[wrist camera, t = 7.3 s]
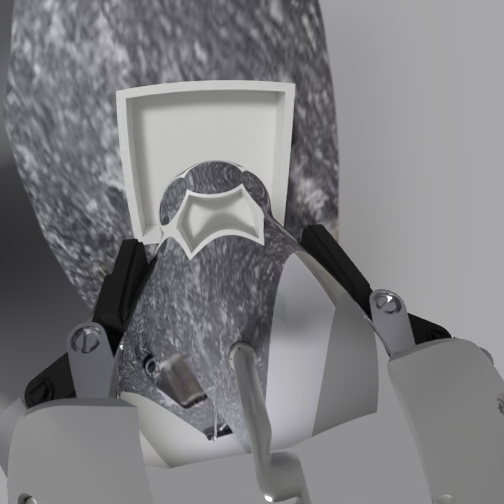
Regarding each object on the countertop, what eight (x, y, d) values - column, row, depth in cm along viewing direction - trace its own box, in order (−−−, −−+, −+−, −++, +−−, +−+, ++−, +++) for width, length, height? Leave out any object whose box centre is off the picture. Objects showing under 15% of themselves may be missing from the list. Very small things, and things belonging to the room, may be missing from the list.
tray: (124, 90, 19) (116, 91, 16) (284, 83, 21) (295, 83, 19) (140, 230, 27) (136, 245, 25) (274, 219, 30) (282, 233, 27)
